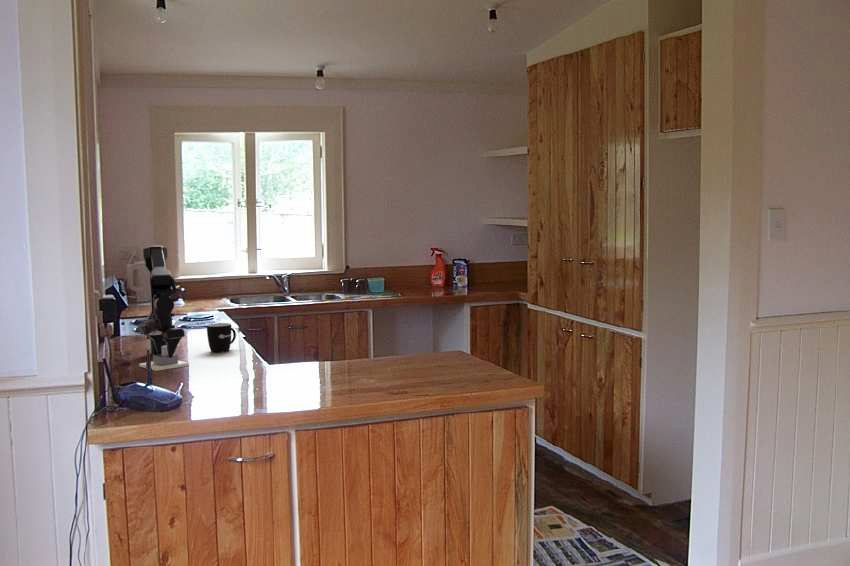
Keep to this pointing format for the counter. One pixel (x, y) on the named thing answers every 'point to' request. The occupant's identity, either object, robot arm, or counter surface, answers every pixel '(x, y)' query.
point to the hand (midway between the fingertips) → (165, 356)
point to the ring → (165, 359)
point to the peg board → (158, 367)
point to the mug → (220, 337)
